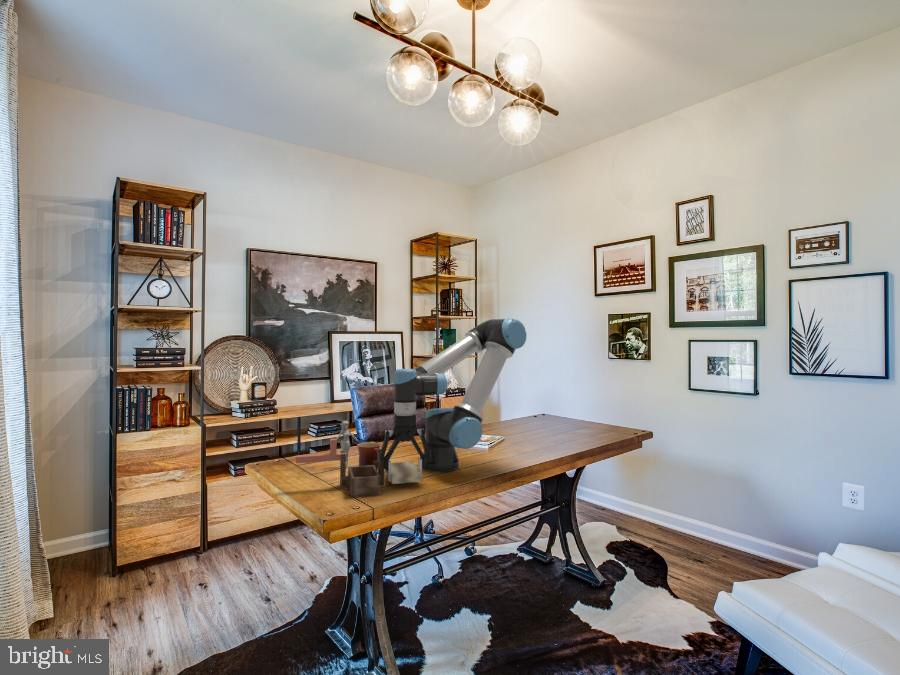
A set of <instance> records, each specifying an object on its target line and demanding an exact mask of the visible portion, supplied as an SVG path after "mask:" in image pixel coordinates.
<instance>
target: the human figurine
mask: <svg viewBox="0 0 900 675" xmlns="http://www.w3.org/2000/svg"><path fill="white" fill-rule="evenodd" d="M349 424H350V423H349V421H348V420H342V421H341V424H340V426H341V429H340V432H339V434H338V436H336V438H335V439H337V440H338V439H339V438H340V437H341V436H343V439H341V440H340V442H339V444H340V448H341V451H345V454H346V469H348V467H350V466H349V463H348V462H349V452H350V449H351V443H350V439H349V437H350V436H351V437H352V438H354V439H355V441H357V442H359V439H358V438H356V437H355V435H354V434H352V432H351V431H350V430H349Z"/></svg>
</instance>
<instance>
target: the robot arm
mask: <svg viewBox="0 0 900 675" xmlns="http://www.w3.org/2000/svg"><path fill="white" fill-rule="evenodd" d="M527 337H528V336H527V331H526V327H525V325H524V323H523V322H521V321H520V320H519V319H517V318H511V317H507V318H499V319H498V318H496V319H494V318H493V319H491V318H490V319H488V320H484V321H482V322H481V323H480V324H478V325H476V326H475V327H474V328H471V329H470V330H469V331H467V332H466V333H465V335H464V337H462V338H461V339H460V340H458V341H456V342H455V343H453V344H452V345H449V347H447V348H445V349H444V350H442V351H441V352H439V353H438V354H436V355H435V356H433V357H431V358H430V359H428V360H427V361H426V362H424V363H422V364H421V365H419V366H417V367H416V368H399V369H396V370H395V371H394V376H393V377H394V379H393V386H394V389H393V390H394V392H393V394H394V399H393V401H394V403H393V405H394V406H393V413H394V415H393V429H390V430H387V429H385V430H384V438H383V442H382V446H381V447H380V449H381V452H380V455H379V458H380V460H384V472H385V471H387V474H386V476H387V479H386V480H387V481H388V482H391V463H392V461H391V460H390V459H391V457H392V456H393V454H394V452H395V450H396V448H397V447H398V445H399V444H400V443H403V442H411V443H412V445H413V446H414V449H415V450H416V452H417V454H418V455H419V457H417V468H418V469H419V470H420V471H421V473H422V474H423V470H425V471H428V472H436V473H437V472H439V473H442V472H443V473H444V472H452V471H455V470H458V469H459V468H460V460H459V457H458V453H457V449H463V450H467V449H468V450H470V449H471V448H472V449H473V447H475V446H476V445H477V444H478V443H479V442H480V440H481V438H482V436H483V426H482V421H483V417H482V412H483V410H484V408H485V406H486V404H487V401H488V400H489V398H490V395H491V394H492V392H493V389H494V387H495V384H496V382H498V381H497V380H498V378H499V376H500V374H501V371H502V370H503V368H504V365H505V363H506V361H507V359H510V358H512V357H513V355H514V354H515V351H516V350H518V349H521V348H522V347H524V345H525V343H526V342H527ZM483 350H485V352H484V354H483V356H482V358H481V361H480V362H479V364H478V367H477V369H476V371H475V373H474V375H473V377H472V379H471V381H470V382H469V385H468V388H467V389H466V391H465V393H464V395H463V397H462V399H461V402H460V403H458V404H455V405H454V406H453V407H441V408H440V407H439V408H437V407H436V408H431V409H427V410H426V412H425V418H424V420H425V429H424V428H423V427H421V428H417V415H416V413H417V397H420V396H438V395H443V394H445V393H446V391H447V389H448V379H447V377H446V375H445V373H446V372H448V371H449V370H450V369H453V367H455V366H456V365H458V364H459V363H460V364H461V362H462V361H463V360H466V359H467V358H468V357H470V356H472V355H473V354H475V353H480V352H482V351H483ZM416 434H418V435H419V438H420V440H421V445H422V448H423V451H422V449H421V448H420V446H419V444H418V443H417V440H416V438H415V436H416ZM393 435H394V436H395V437H394V439H393V441H392V443H391V445H390V447H389V449H388V444H389V441H390V437H392V436H393ZM387 449H388V450H387ZM384 455H385V456H384ZM422 478H423V476H421V479H422Z"/></svg>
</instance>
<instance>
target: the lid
mask: <svg viewBox="0 0 900 675" xmlns="http://www.w3.org/2000/svg"><path fill="white" fill-rule="evenodd" d="M384 473H385V474H386V475H387V471H385V470H384ZM422 475H423V472H422V473H421V471H420V470H419V469H418V466H417V465H416V464H415V463H414V462H413V461H402V462H391V481H390V483H391V484H392V485H395V484H397V485H398V484H407V483H409V484H410V483H420V482H422V478H421V476H422ZM422 477H423V476H422Z"/></svg>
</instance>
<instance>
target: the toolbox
mask: <svg viewBox="0 0 900 675" xmlns="http://www.w3.org/2000/svg"><path fill="white" fill-rule="evenodd" d="M380 452H381V448H380V449H378V471H377V469H376V467H375V465H368V466H359V465H356V466H354V465H353V466H349V467H348V468H347V467H346V453H345V451H342V450H340V451H339V453H345V454H341V460H339V461H340V462H339V488H340V490H346V489H348V490H349V492H350V497H351V498H362V497H371V496H373V497H374V496H381V487H385V469H384V460H380V458H379V455H380ZM384 456H386V454H385V455H384ZM347 469H348V470H347ZM346 472H347V475H346Z"/></svg>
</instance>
